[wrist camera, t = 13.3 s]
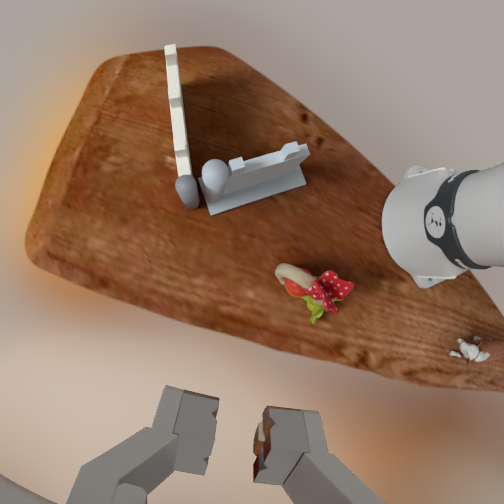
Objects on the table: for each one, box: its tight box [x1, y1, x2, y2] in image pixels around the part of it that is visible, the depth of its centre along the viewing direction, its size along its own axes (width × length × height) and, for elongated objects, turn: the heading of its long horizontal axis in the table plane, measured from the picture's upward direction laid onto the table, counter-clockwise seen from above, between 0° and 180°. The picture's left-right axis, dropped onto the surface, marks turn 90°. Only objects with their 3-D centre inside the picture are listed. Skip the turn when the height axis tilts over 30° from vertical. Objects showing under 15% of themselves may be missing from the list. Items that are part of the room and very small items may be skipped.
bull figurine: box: [449, 335, 504, 367], centre depth 42 cm, size 4×13×8 cm, turn 79°
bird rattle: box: [275, 263, 355, 324], centre depth 37 cm, size 6×11×9 cm
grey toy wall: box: [198, 141, 310, 216], centre depth 35 cm, size 13×5×12 cm, turn 109°
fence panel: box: [165, 44, 200, 209], centre depth 34 cm, size 18×2×12 cm, turn 10°
